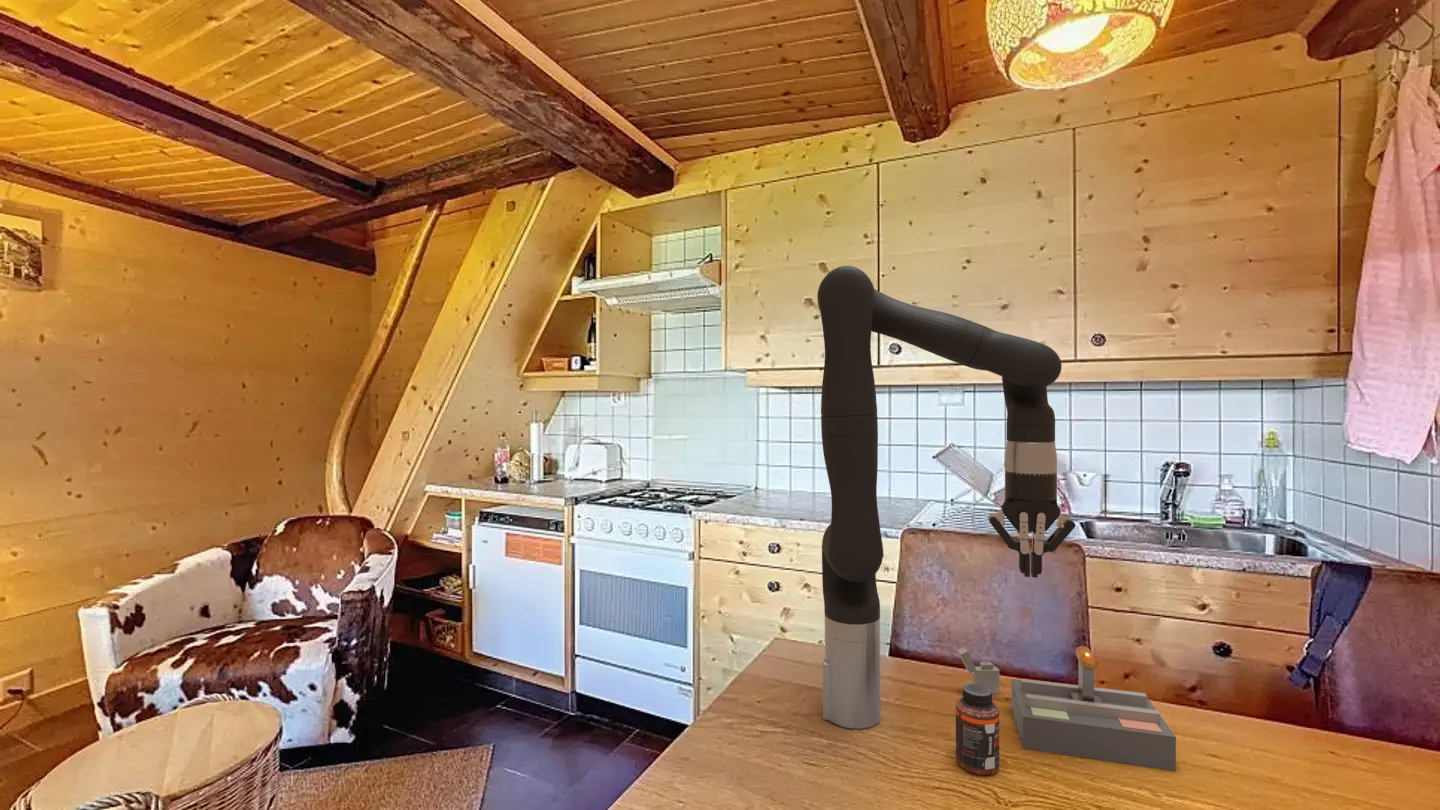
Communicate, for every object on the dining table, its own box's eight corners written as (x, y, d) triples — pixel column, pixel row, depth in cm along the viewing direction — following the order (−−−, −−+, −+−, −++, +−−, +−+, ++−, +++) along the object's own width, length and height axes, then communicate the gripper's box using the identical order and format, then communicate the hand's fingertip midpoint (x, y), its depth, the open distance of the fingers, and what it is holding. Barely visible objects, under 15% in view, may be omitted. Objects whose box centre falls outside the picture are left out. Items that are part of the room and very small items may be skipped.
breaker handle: (1074, 708, 98) (1074, 654, 98) (1069, 696, 102) (1069, 644, 102) (1103, 712, 97) (1104, 657, 97) (1097, 699, 101) (1097, 647, 101)
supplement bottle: (1004, 779, 89) (1003, 700, 89) (959, 775, 90) (959, 696, 90) (994, 755, 95) (994, 681, 94) (952, 751, 96) (952, 678, 96)
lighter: (995, 689, 115) (995, 646, 115) (999, 694, 114) (999, 650, 114) (956, 689, 116) (956, 646, 115) (960, 694, 114) (960, 650, 114)
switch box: (1022, 748, 96) (1022, 706, 96) (1011, 707, 109) (1011, 669, 109) (1175, 771, 90) (1176, 726, 90) (1145, 725, 103) (1145, 685, 103)
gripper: (987, 470, 99) (987, 579, 100) (1082, 473, 95) (1082, 586, 96) (983, 465, 107) (983, 566, 107) (1071, 467, 103) (1071, 572, 103)
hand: (1030, 575), depth 101 cm, fingers closed
